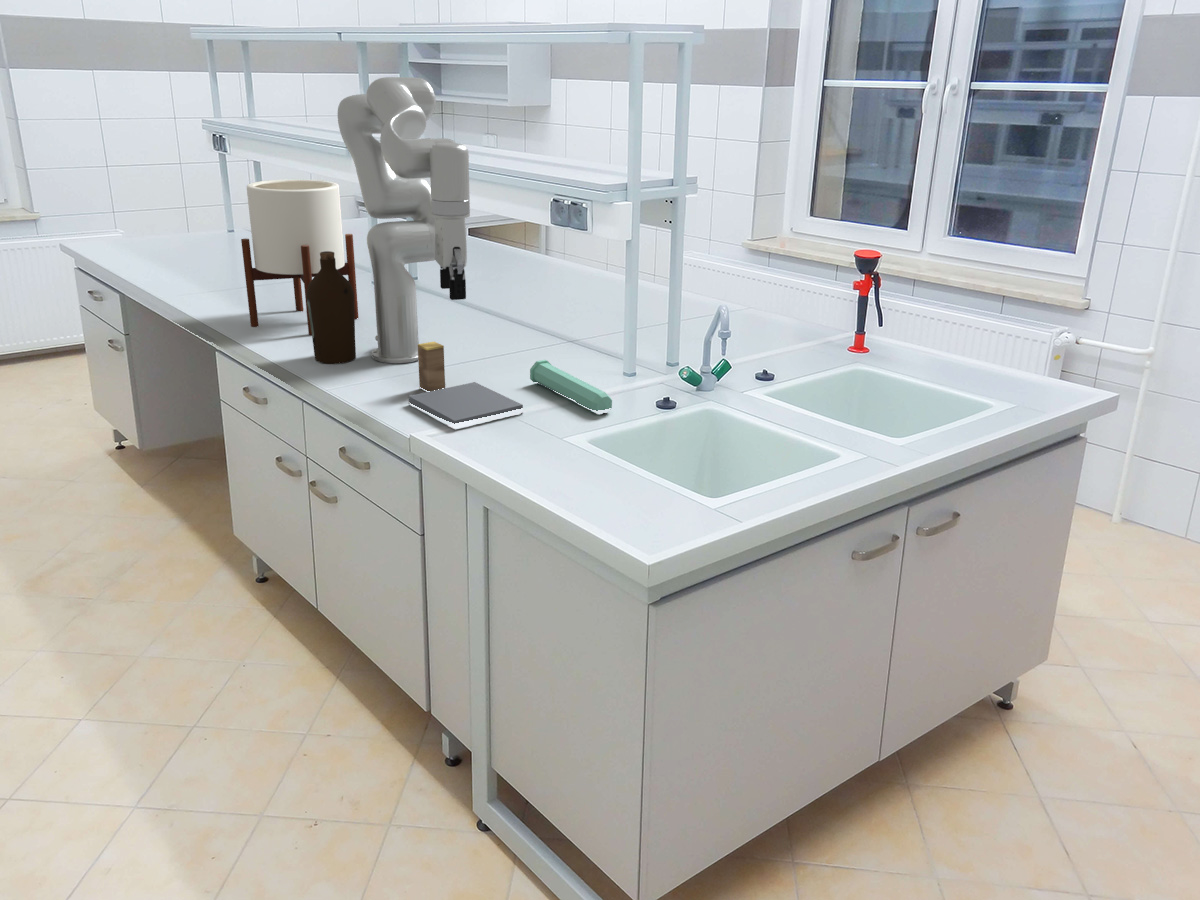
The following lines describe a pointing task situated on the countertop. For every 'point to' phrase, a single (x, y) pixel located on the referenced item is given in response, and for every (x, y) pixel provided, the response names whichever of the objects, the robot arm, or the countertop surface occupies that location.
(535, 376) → the container
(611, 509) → the countertop surface
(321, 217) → the plant pot with stand
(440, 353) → the block
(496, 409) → the board
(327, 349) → the olive oil
